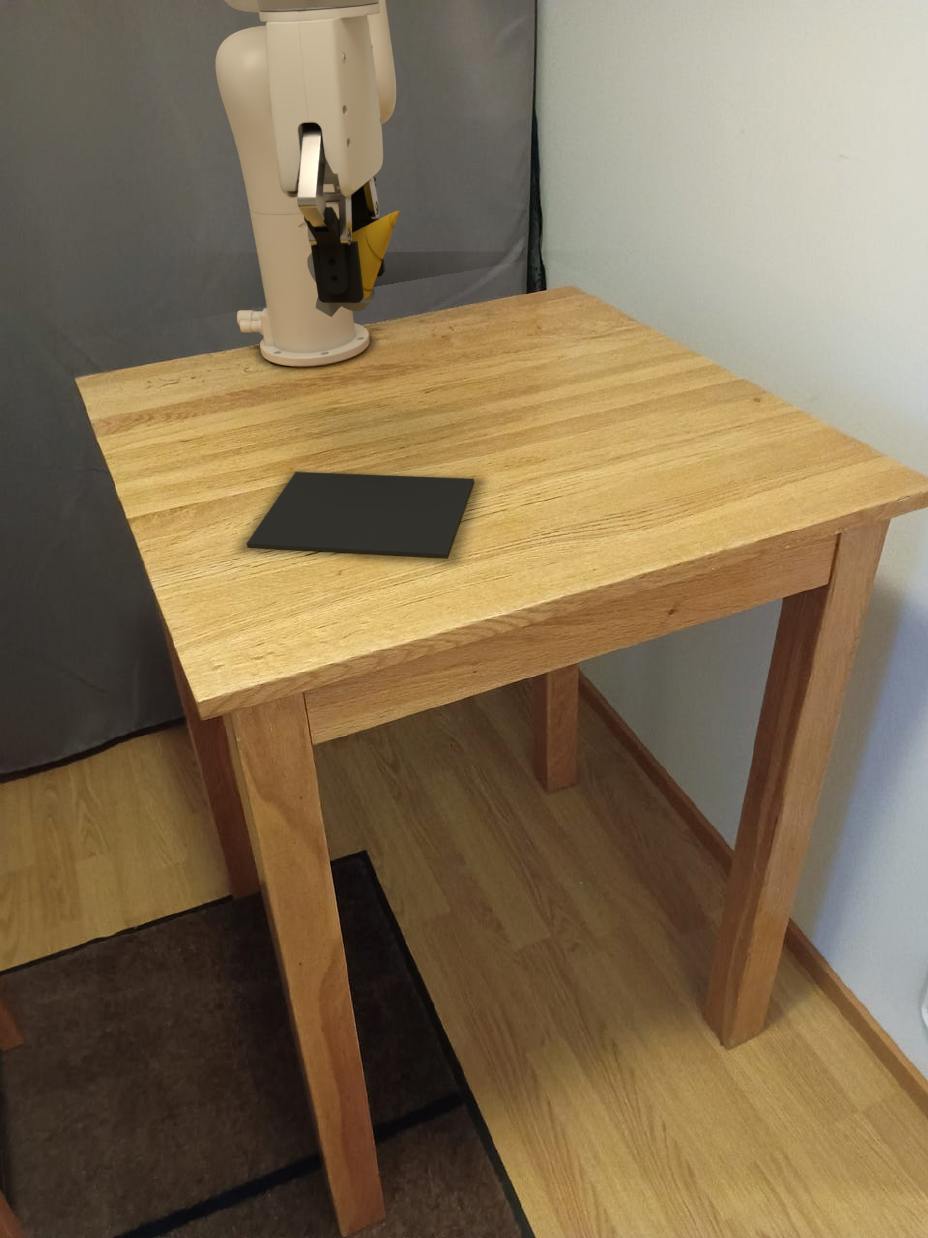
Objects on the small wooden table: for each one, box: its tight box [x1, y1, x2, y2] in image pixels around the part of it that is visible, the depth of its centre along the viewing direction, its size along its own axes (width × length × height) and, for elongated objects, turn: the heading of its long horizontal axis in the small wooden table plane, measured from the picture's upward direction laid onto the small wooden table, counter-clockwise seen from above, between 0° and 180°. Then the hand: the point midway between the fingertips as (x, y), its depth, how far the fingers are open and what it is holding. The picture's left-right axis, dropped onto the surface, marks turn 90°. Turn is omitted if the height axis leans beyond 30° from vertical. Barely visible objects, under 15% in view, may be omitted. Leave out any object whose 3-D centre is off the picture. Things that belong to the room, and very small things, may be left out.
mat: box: [246, 471, 475, 559], centre depth 76 cm, size 16×12×1 cm
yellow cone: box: [307, 210, 400, 317], centre depth 66 cm, size 5×5×10 cm
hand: (353, 285), depth 68 cm, fingers closed on yellow cone, 5 cm apart
